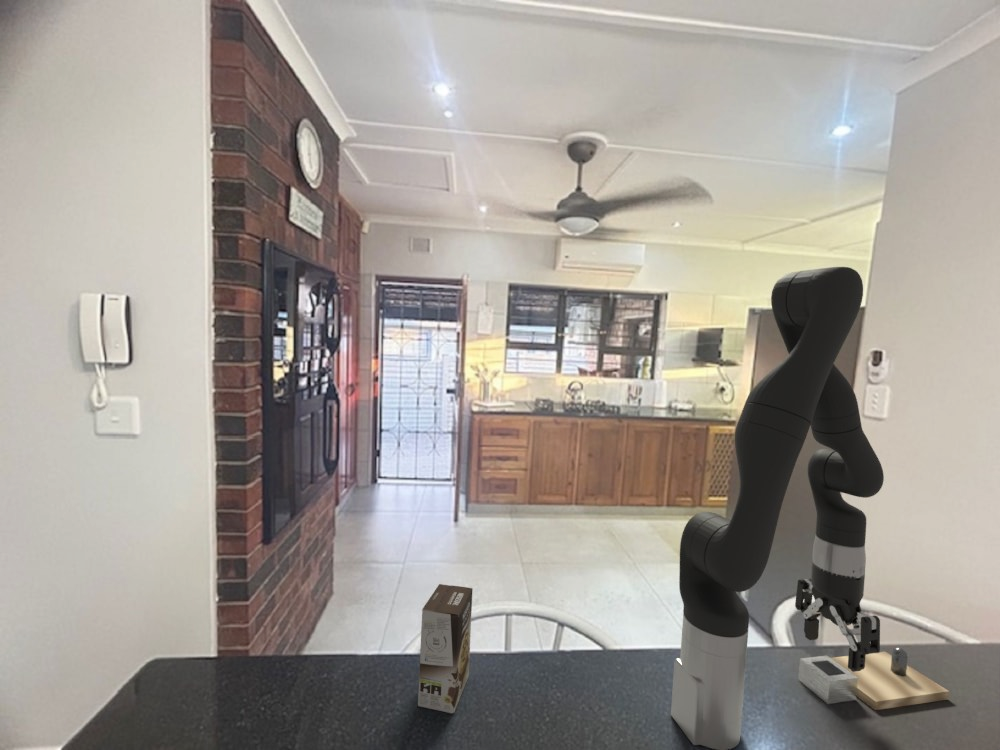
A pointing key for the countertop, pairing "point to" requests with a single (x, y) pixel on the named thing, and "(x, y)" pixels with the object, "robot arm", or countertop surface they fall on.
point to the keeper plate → (893, 681)
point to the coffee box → (445, 647)
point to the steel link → (828, 679)
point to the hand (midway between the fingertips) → (832, 653)
